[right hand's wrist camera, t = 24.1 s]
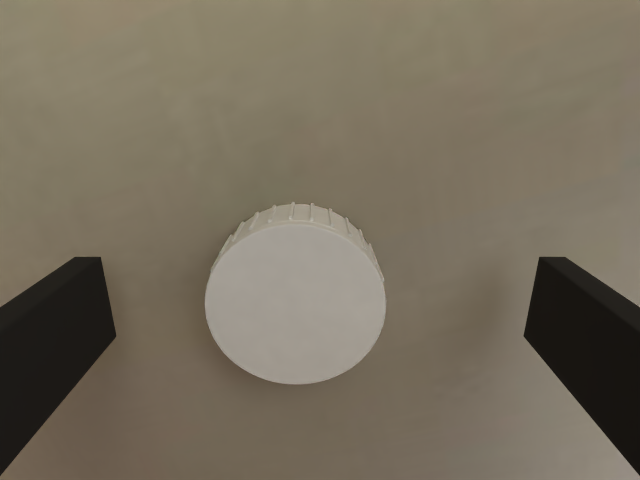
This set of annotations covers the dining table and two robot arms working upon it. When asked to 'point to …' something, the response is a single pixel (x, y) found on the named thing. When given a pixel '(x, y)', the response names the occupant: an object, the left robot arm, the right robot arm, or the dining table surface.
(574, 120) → the dining table surface
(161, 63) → the dining table surface
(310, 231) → the lid
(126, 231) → the dining table surface
